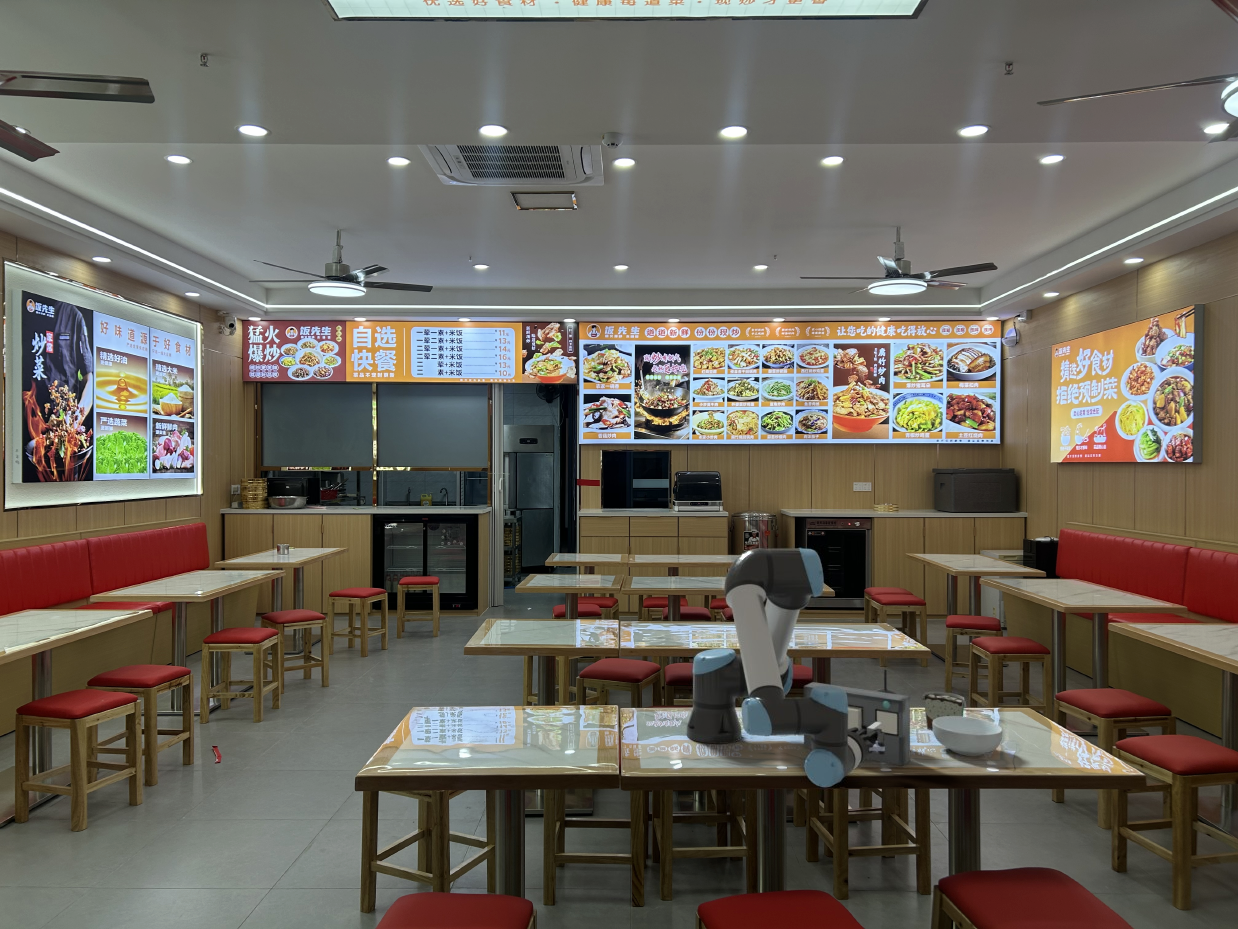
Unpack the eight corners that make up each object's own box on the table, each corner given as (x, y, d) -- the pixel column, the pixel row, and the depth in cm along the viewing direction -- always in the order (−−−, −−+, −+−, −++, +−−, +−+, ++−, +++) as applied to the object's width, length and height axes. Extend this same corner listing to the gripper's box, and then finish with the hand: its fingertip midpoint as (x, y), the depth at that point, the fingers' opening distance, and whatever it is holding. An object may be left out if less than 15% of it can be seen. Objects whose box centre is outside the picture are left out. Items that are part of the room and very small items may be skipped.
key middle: (857, 730, 209) (857, 710, 209) (838, 727, 212) (838, 707, 212) (863, 727, 213) (863, 707, 213) (844, 723, 215) (844, 704, 216)
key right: (896, 734, 206) (896, 714, 206) (876, 731, 209) (876, 711, 209) (901, 730, 209) (901, 710, 210) (882, 727, 212) (881, 707, 212)
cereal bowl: (931, 756, 213) (931, 729, 213) (932, 739, 228) (932, 713, 228) (1004, 765, 206) (1004, 736, 207) (1000, 746, 222) (1000, 720, 222)
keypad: (902, 766, 205) (902, 701, 205) (803, 747, 220) (803, 686, 220) (910, 760, 210) (909, 696, 210) (812, 741, 225) (812, 682, 225)
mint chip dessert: (973, 732, 235) (973, 696, 235) (965, 736, 231) (965, 700, 231) (930, 723, 244) (930, 689, 244) (921, 727, 239) (921, 693, 239)
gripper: (817, 763, 186) (852, 738, 206) (875, 775, 179) (906, 748, 198) (817, 730, 187) (852, 708, 206) (874, 740, 179) (905, 716, 198)
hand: (878, 727), depth 202 cm, fingers closed
